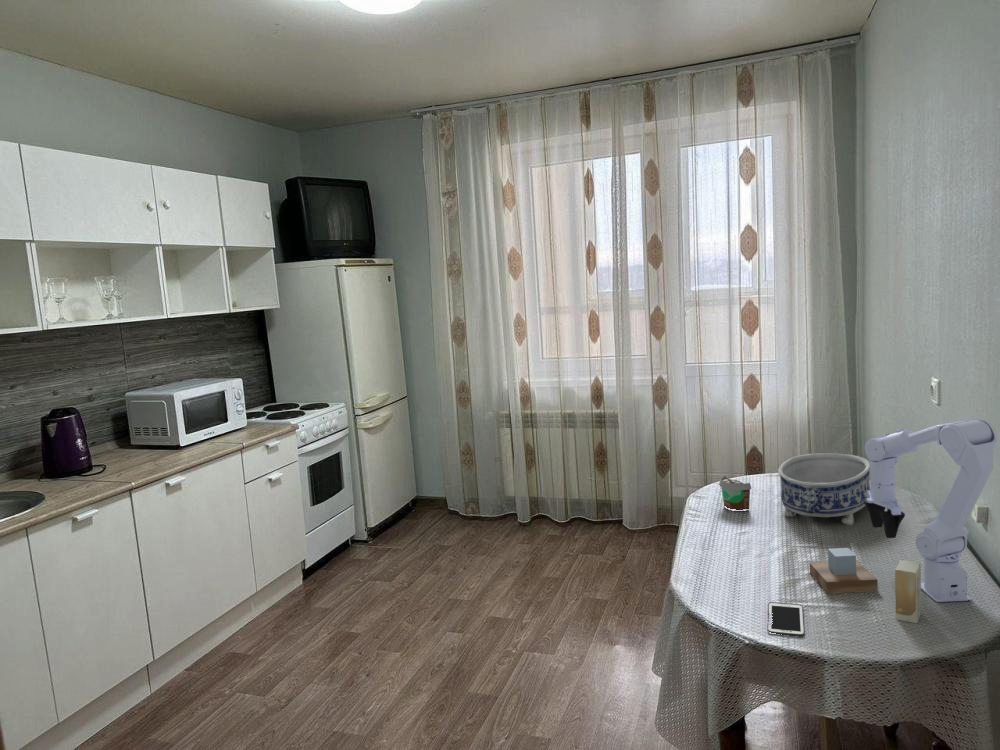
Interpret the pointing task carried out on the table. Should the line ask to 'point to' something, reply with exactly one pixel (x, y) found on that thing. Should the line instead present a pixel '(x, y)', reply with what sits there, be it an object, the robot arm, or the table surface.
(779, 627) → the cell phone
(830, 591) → the walnut base
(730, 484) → the food container
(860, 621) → the table surface
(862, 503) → the decorative bowl
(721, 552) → the table surface
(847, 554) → the slate cube
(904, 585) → the skincare box
